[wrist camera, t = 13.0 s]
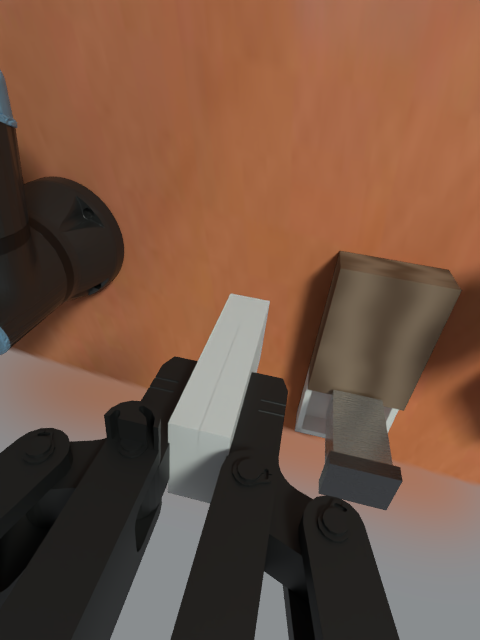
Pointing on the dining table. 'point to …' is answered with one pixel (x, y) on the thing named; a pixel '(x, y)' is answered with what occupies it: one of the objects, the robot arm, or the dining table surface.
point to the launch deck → (380, 327)
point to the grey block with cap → (358, 452)
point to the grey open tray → (322, 412)
